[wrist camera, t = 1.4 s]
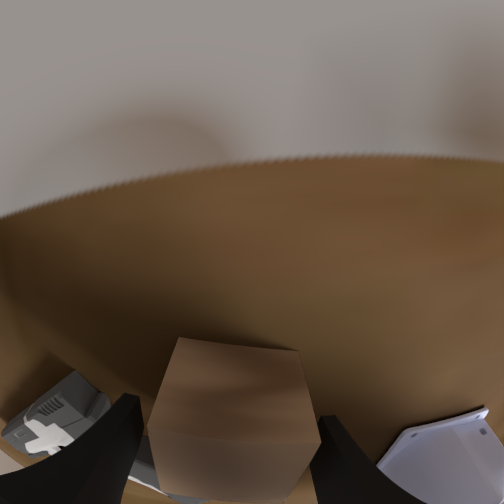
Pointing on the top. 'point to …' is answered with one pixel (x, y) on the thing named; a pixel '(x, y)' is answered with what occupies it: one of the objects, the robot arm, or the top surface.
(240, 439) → the walnut cube
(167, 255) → the top surface
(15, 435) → the handgun
